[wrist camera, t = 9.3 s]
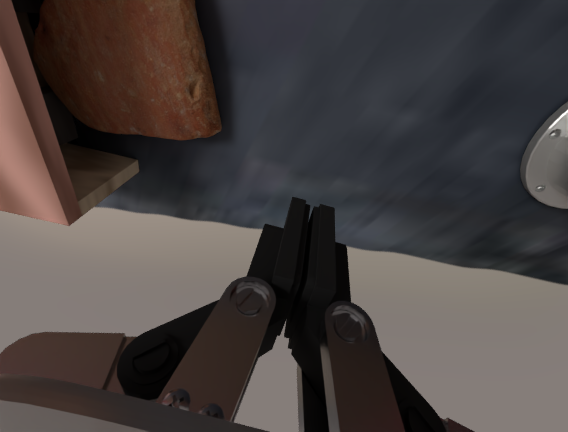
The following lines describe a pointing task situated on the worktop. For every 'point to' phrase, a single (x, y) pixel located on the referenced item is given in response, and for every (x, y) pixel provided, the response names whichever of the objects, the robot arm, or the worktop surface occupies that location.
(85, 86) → the ceramic shard
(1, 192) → the overhang bay
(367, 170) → the worktop surface
